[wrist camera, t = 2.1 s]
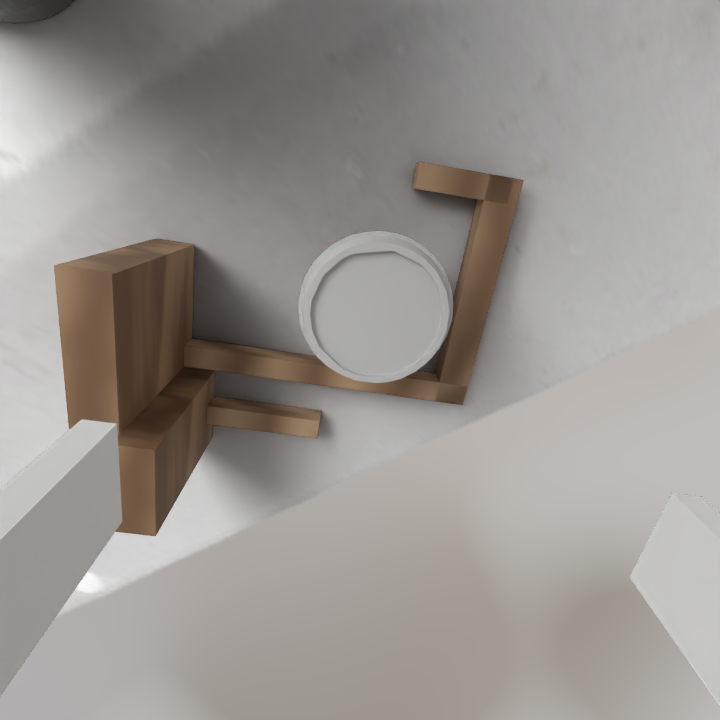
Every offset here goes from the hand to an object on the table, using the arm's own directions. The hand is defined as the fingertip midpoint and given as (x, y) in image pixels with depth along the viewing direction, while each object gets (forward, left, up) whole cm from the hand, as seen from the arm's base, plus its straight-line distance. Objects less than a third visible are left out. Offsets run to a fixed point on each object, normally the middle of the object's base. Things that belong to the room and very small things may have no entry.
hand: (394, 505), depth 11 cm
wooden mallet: (+14, -9, -29) cm, 33 cm away
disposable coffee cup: (0, 0, -29) cm, 29 cm away
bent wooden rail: (0, -4, -28) cm, 28 cm away
